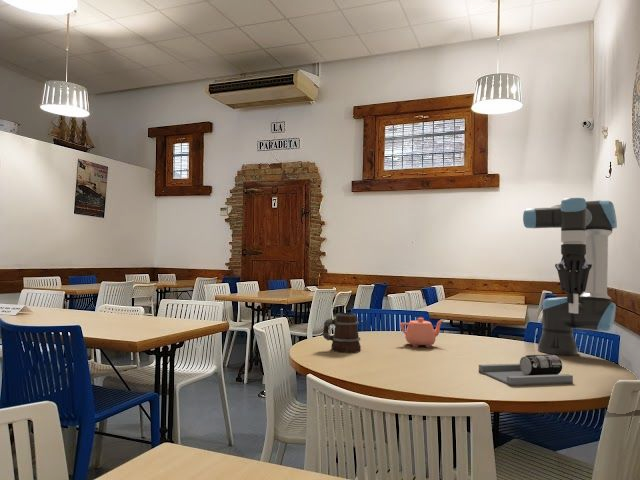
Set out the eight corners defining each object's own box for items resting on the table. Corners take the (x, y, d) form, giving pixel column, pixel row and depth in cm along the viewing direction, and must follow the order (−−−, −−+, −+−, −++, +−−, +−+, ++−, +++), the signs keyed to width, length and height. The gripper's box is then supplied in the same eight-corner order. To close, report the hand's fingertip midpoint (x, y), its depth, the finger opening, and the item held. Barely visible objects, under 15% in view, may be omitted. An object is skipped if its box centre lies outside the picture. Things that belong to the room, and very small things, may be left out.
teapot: (448, 348, 204) (449, 320, 205) (402, 348, 204) (403, 319, 204) (439, 343, 218) (439, 316, 218) (396, 342, 217) (396, 315, 217)
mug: (356, 347, 202) (357, 312, 203) (362, 353, 190) (363, 315, 191) (320, 347, 200) (320, 311, 201) (324, 353, 188) (324, 315, 189)
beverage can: (548, 370, 162) (517, 371, 160) (550, 351, 162) (519, 352, 159) (562, 377, 156) (530, 379, 153) (564, 358, 155) (532, 359, 153)
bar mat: (535, 370, 167) (535, 363, 167) (572, 383, 150) (572, 375, 150) (478, 371, 162) (478, 364, 163) (510, 385, 145) (510, 377, 145)
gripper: (581, 243, 167) (581, 311, 166) (549, 243, 164) (549, 311, 164) (598, 243, 160) (598, 314, 159) (564, 243, 157) (564, 314, 156)
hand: (573, 312), depth 161 cm, fingers closed
